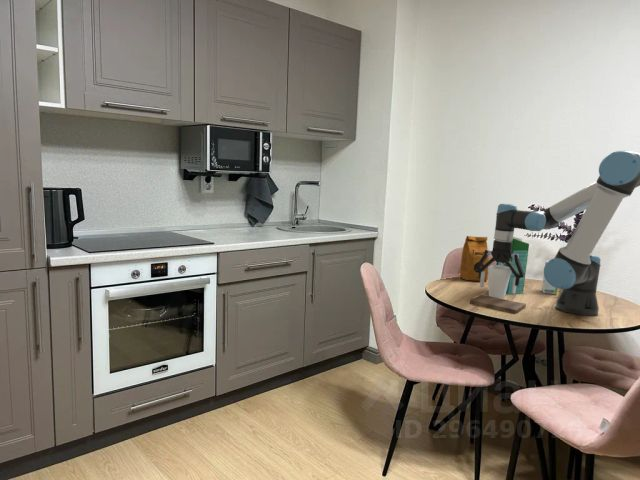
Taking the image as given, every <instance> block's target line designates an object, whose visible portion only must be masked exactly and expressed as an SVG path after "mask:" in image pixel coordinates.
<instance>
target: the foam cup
mask: <svg viewBox="0 0 640 480" xmlns="http://www.w3.org/2000/svg"><path fill="white" fill-rule="evenodd" d="M510 275H511V269H510V268H509V267H505V266H497V265H496V264H490V265H489V266H488V279H487V281H488V285H487V286H488V296H490V297H495V298H500V299H505V297H506V295H507V294H506V290H507V286H508V283H509V279H510Z"/></svg>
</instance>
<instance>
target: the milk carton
mask: <svg viewBox="0 0 640 480" xmlns="http://www.w3.org/2000/svg"><path fill="white" fill-rule="evenodd" d="M511 242H512V251H511V253H512V254H519V260H520V263H521V266H522V268H523V271H524V274H525V276H524V277H522V278H520V280H519V285H518V286H516V292H515V293H512V287H513V279H514V278H515V276H514V274H513V272H512V271H511V275H510V279H509V283H508V286H507V290H506V294H505V295H515V294H517V295H519V294H524V288H525V280H526V272H527V265H528V257H529V249H530V243H528V242H525V241H523V239H522V238H520V237H516V236H513V240H512V241H511ZM510 260H511V262H512V264H513V266H514V267H515V269H516V270H517V272H518V273H519V271H518V269H517V266H516V263H515V260H514V259H513V257H511V258H510ZM495 265H497V266H505V267H509V266H508V265H507V264H506V263H501V262H496V263H495ZM519 275H520V274H519Z"/></svg>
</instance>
